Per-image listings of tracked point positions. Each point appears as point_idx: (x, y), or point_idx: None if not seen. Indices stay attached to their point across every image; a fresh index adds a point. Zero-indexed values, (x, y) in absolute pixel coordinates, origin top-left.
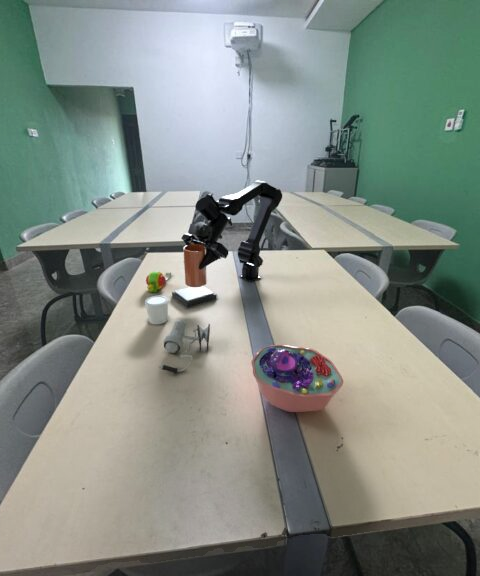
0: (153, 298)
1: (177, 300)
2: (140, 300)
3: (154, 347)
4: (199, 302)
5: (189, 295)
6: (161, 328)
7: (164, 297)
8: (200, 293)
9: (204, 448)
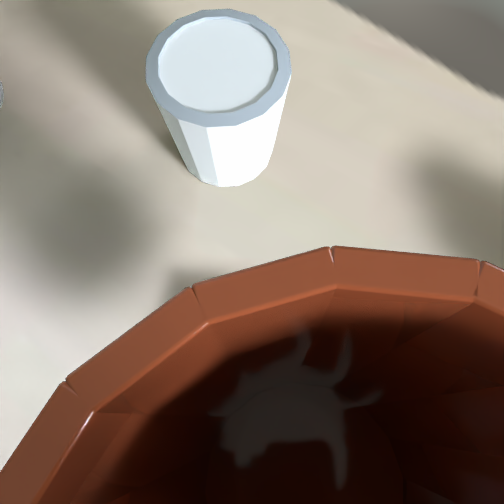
0: (257, 66)
1: None
2: (501, 186)
3: (47, 35)
4: None
5: None
6: (147, 118)
7: (214, 113)
8: None
9: None
